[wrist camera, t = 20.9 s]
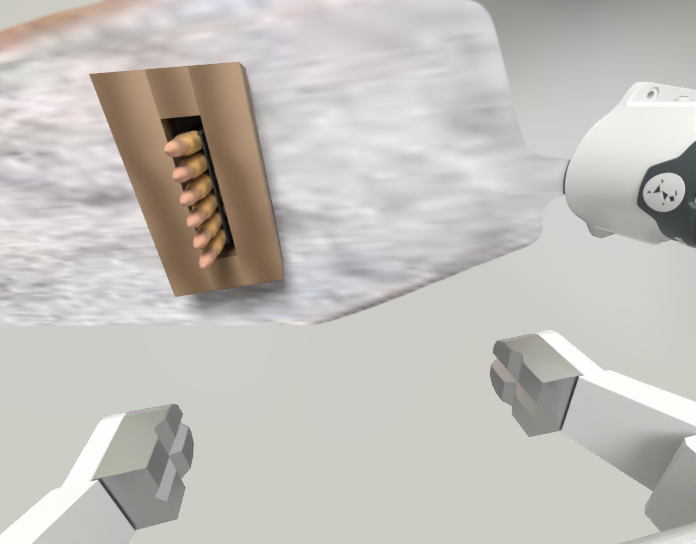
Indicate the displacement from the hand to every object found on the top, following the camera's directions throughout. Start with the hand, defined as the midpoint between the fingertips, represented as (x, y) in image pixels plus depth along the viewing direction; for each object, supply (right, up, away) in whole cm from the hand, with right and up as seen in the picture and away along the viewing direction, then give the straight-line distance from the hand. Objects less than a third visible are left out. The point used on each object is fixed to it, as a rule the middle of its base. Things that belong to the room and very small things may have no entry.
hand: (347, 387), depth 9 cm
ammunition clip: (-14, +13, +27) cm, 33 cm away
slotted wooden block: (-14, +12, +26) cm, 32 cm away
